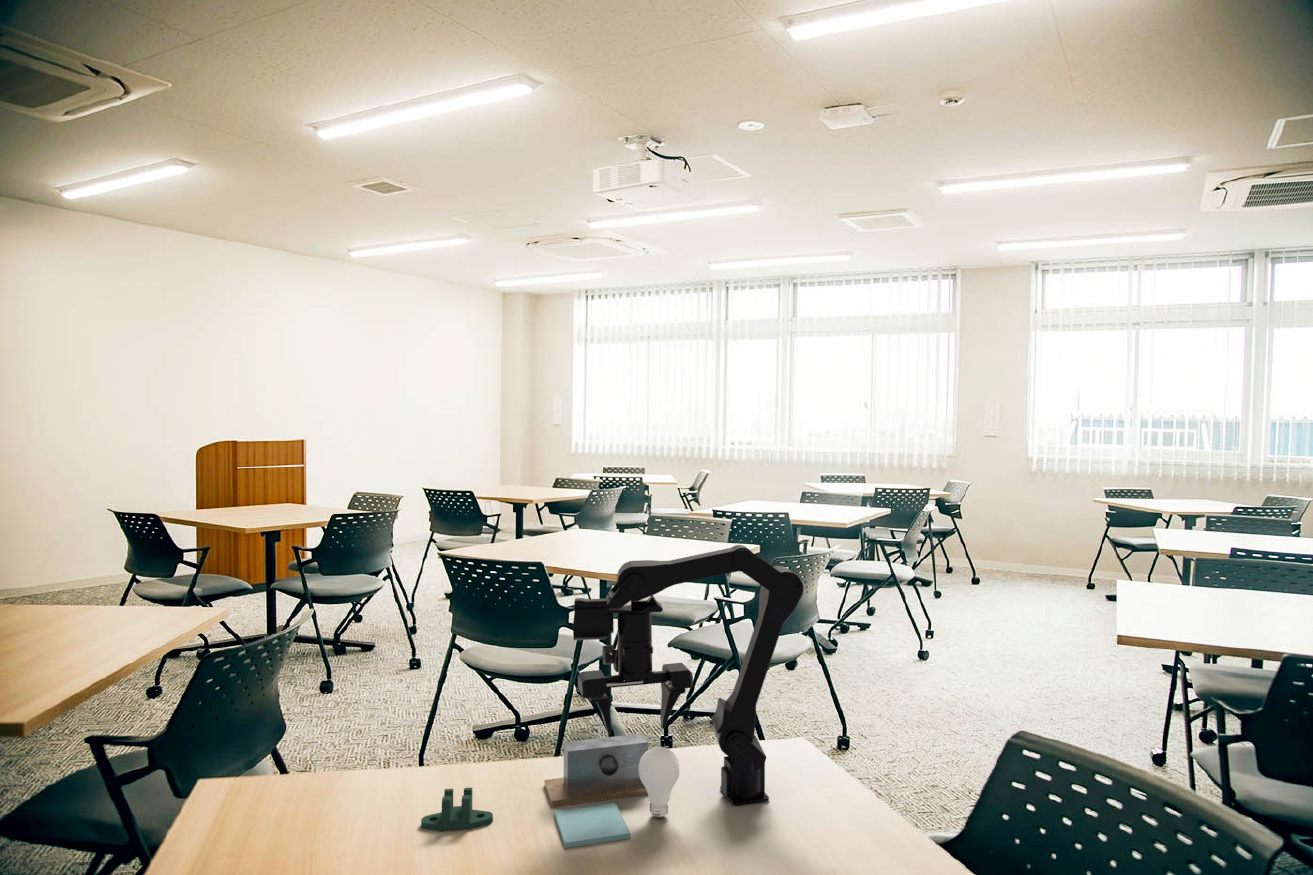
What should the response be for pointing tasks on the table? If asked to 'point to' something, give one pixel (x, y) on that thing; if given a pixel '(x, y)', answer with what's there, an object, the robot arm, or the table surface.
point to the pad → (591, 825)
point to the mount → (456, 815)
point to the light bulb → (659, 777)
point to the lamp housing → (599, 770)
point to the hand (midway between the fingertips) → (636, 730)
